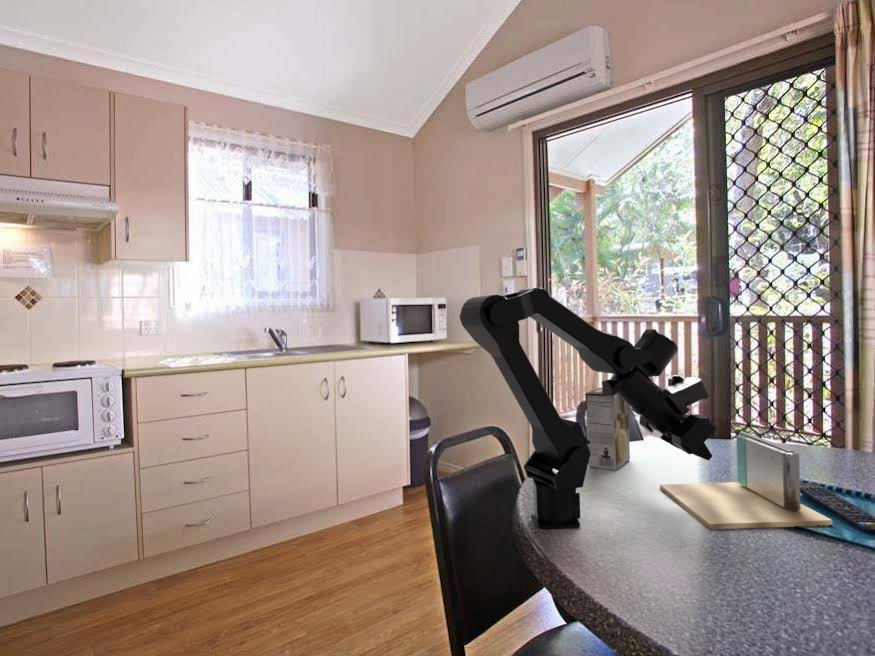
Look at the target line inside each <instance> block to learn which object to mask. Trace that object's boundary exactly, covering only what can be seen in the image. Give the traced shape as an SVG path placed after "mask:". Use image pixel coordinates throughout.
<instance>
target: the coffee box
mask: <svg viewBox="0 0 875 656" xmlns="http://www.w3.org/2000/svg"><path fill="white" fill-rule="evenodd" d="M602 388H603V387H598V388H596V389H593V390H590V391H588V392H586V393H585V414H586V439H587V440H589V441H590V444H587V445H588V447H589V449H590V453H591V456H590V458H589V463H588V467H590V468H597V469H602V468H603V470H604V469H605V470H609V469H612V471H618V470H619V469H621V468H622V467H623V466H624V465H625V464H626V462H627V461H628V462H629V461H630V460H631V453H630V449H631V448H630V429H629V427H630V426H629V404H628V403H627V402H626V401H625V400H624V399H623V398H622V397H620V396H619V395H618V394H617V393H616V394H615V395H612V396H607V397H603V396H602ZM628 462H627V463H628ZM622 465H623V466H622ZM621 466H622V467H621ZM618 468H619V469H618ZM617 469H618V470H617Z"/></svg>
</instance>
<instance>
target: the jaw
mask: <svg viewBox="0 0 875 656" xmlns="http://www.w3.org/2000/svg"><path fill="white" fill-rule="evenodd" d="M736 463H737V465H736V466H737V467H736V468H737V482H738V483H739V484H741V485H743V486H745V487H747V488H749V489H751V490H753V491H755V492H756V493H758V494H760V495H762V496H764V497H766V498H768V499H769V500H771V501H773V502H775V503H777V504H779V505H780V506H782V507H787V508H788V509H791V510H801V504H802V503H801V477H800V476H801V475H800V454H799V453H798V452H795V451H794V452H785V451H782V450H779V449H777V448H774V447H771V446H769V445H766V444H763V443H761V442H758V441H756V440H753V439H751V438H748V437H746V436H743V435H740V434H739V435H736Z"/></svg>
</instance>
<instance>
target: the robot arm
mask: <svg viewBox="0 0 875 656" xmlns="http://www.w3.org/2000/svg"><path fill="white" fill-rule="evenodd" d="M528 318H531V319H532V320H533V321H535V322H536V323H538V324H539V325H541V326H542V327H543V328H544V329H547V330H548V331H550V332H551V333H552V334H554V335H555V336H556V337H559V338H560V339H561V340H562V341H564V342H566V343H567V344H568V345H570V346H571V347H573V348H574V349H575V350H576V351H577V352H578V355H579V358H580V359H581V360H582V361H583V362H584V363H585V364H586V365H587V367H589V368H590V369H591V370H592V371H594V372H597V373H606V374H613V375H612V376H611V377H610V379H606V380H605V379H604V380H602V381H601V386H602V387H601V388H602V396H603V397H607V396H612V395H615V394H616V393H617V394H618V395H619V396H620V397H622V398H623V399H624V400H625V401H626V402H627V403H628V406H630V407H631V410H632V411H633V412H634V413H635V414H637V415H639V424H640V426H641V427H642V428H643V429H645V431H647V432H649V433H650V434H653V433H654V432H655V431H656V432H657V433H659V434H661V436H660V439H661V440H662V441H664V442H665V443H668V444H670V445H672V446H673V447H675V448H677V449H679V450H681V451H682V452H684V453H686V454H687V455H694V456H696V457H699V458H701V459H704V460H707V461H711V459H712V458H713V454H712V453H711V451H710V449H709V448H708V446H707V445H706V443H705V442H706V441H707V440H708V439H709V438H710V437H711V436H712V435H713V434H714V433H715V432H716V431H717V429H718V426H717V424H715V422H713V420H711V419H710V418H709V417H706V416H704V415H702V414H699V413H698V414H695V413H694V414H688V412H689V411H691V410H690V408H689V407H688V406H691V405H693V404H696V403H697V402H699V401H701V400H706V399H708V398H709V397H710V393H709V391H708V389H707V388H706V386H705V383H704V380H703V379H702V378H699V377H696V376H690V377H689V376H686V377H685V378H683V377H682V376H681V375H678V374H673V375H672V376H670V377H668V378H667V386H666V388H661V387H660V386H659V385H657V384H656V383H655V382H654V381H653V380H652V378H651V377H659V376H661V375H662V373H663V372H664V371H665V370H666V368H667V367H668V365H669V364H670V363H671V361H672V360H673V359H674V357H675V356H676V354H677V353H678V351H679V348H678V346H677V343H676V342H675V341H674V340H671V339H670V338H669V337H667V336H665V335H664V334H661V333H659V332H658V330H656V328H653V329H652V328H651V329H650V328H645V330H644V331H643V333H642V334H641V337H640V338H639V340H637V342H636V343H635V344H634V345H633V344H632V343H631V341H628V340H626V339H624V338H623V337H620V336H618V335H615V334H612V333H609V332H606V331H603V330H599V329H597V328H595V327H594V325H591V324H590V323H589V322H587V321H586V320H585V319H584V318H582V317H580V315H578V314H576V313H575V312H573V311H572V310H570V309H569V308H568V307H567V306H566V305H564V304H562V303H561V302H559V301H558V300H557V299H556V298H554V297H553V296H552V295H551V294H549V292H548V291H547V290H546V289H545V288H542V287H540V286H539V287H538V286H537V287H528V288H522V289H519V291H515V292H513V293H509V294H504V295H500V294H491V295H482V296H481V295H480V296H474V297H471V298H469V299H467V300H466V301H465V302H464V303H463V305H462V307H461V309H460V314H459V321H460V323H461V325H462V327H463V328H464V329H465V331H466V332H467V334H468V335H469V336H470V337H471V339H472V340H473V341H474V342H475V343H477V344H478V345H479V346H480V348H483V350H485V351H486V352H487V353H488V354H489V355H490V356H491V358H492V359H493V361H494V362H495V365H496V366H497V368H498V369H499V372H500V373H501V375H502V377H503V378H504V380H505V382H506V384H507V385H508V388H509V389H510V390H511V393H512V395H513V397H514V398H515V400H516V401H517V404H518V405H519V407H520V409H521V410H522V412H523V414H524V417H526V420H527V421H528V423H529V425H530V426H531V430H532V431H531V436H532V437H531V438H532V439H531V442H532V445H533V447H534V451H533V452H532V454H531V455H530V457H529V458H528V459H527V461H526V462H525V464H524V465H523V469H524V472H525V474H526V477H527V478H528V479H532V488H533V491H532V492H533V509H532V510H531V514H532V516H533V518H534V521H535V523H536V525H537V528H539V529H559V528H561V529H562V528H565V529H566V528H580V527H581V522H580V521H579V519H581V500H580V499H581V498H580V497H581V496H580V492H579V491H578V490H577V489H580V488H583V486H584V483H585V479H586V475H587V470H588V467H589V466H588V463H589V458H590V456H591V453H590V449H589V447H588V444H590V441H589V440H587V436H585V434H584V431H583V428H582V426H581V425H580V423H579V422H578V421H574V420H571V419H566V418H563V417H561V416H560V414H559V413H558V411H557V409H556V407H555V404H554V403H553V401H552V399H551V397H550V396H549V393H548V392H547V390H546V389H545V387H544V385H543V383H542V381H541V380H540V377H539V375H538V374H537V372H536V371H535V368H534V366H533V365H532V363H531V361H530V359H529V357H528V355H527V354H526V352H525V350H524V348H523V346H522V345H521V342H520V323H519V322H520V321H523V320H526V319H528Z"/></svg>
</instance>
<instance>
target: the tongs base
mask: <svg viewBox="0 0 875 656" xmlns="http://www.w3.org/2000/svg"><path fill="white" fill-rule="evenodd" d="M739 435H743V436H746V437H748V438H751V439H753V440H756V441H758V442H761V443H763V444H766V445H769V446H771V447H774V448H777V449H779V450H782V451H785V452H794V453H795V450H793V449H790V448H788V447H785V446H782V445H780V444H777V443H774V442H772V441H770V440H767V439H764V438H762V437H759V436H756V435H754V434H751V433H748V432H747V431H740V432H739ZM659 490H660V491H662V492H663V493H664V494H666V495H667V496H668V497H669V498H671V499H672V500H673V501H674V502H675V503H676V504H678V505H680V506H681V507H682V508H683V509H685V511H687V512H688V513H690V514H691V515H692V516H693V517H694V518H696V520H698V521H699V522H701V523H702V524H703V525H704V526H705V527H707V528H708V529H709V530H725V529H726V530H729V529H731V530H732V529H733V530H734V529H764V528H765V529H767V528H794V527H795V526H801V527H825V526H826V527H828V526H829V525H833V524H834V523H833V519H831V518H829V517H827V516H825V515H824V514H822V513H820V512H818V511H816V510H814V509H812V508H810V507H808V506H806V505H804V504H803V503H801V510H791V509H788V508H787V507H782V506H780V505H779V504H777V503H775V502H773V501H771V500H769V499H768V498H766V497H764V496H762V495H760V494H758V493H756V492H755V491H753V490H751V489H749V488H747V487H745V486H743V485H741V484H739V483H738V481H734V482H733V481H729V482H701V483H699V482H698V483H673V484H671V483H670V484H659ZM814 525H815V526H814ZM818 525H820V526H818ZM823 525H825V526H823ZM829 527H830V526H829ZM795 528H796V527H795Z"/></svg>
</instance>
